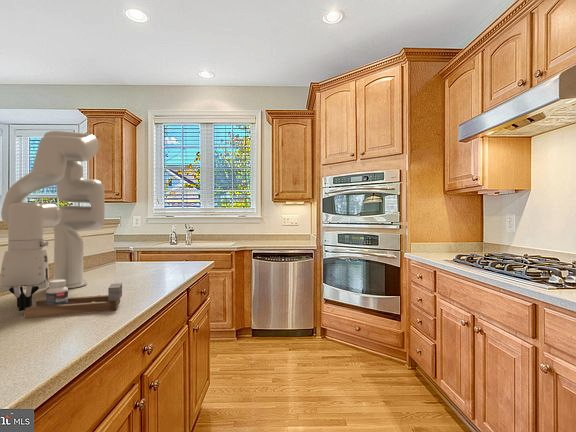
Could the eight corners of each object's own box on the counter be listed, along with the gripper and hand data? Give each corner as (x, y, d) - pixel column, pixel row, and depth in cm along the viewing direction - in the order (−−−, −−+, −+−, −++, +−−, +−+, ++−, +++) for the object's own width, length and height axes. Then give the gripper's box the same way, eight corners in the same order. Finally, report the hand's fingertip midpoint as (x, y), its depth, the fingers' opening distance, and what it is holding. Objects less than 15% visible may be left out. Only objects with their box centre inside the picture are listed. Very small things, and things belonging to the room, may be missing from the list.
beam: (38, 307, 94) (38, 286, 94) (122, 301, 102) (122, 281, 102) (24, 317, 85) (24, 294, 85) (118, 310, 93) (118, 288, 93)
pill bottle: (55, 314, 89) (56, 283, 89) (40, 312, 90) (41, 282, 90) (72, 308, 94) (72, 279, 94) (57, 307, 95) (58, 278, 95)
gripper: (61, 244, 95) (60, 304, 95) (-1, 245, 90) (-2, 308, 90) (52, 246, 88) (51, 311, 88) (-15, 247, 83) (-17, 316, 83)
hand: (24, 309), depth 89 cm, fingers closed
